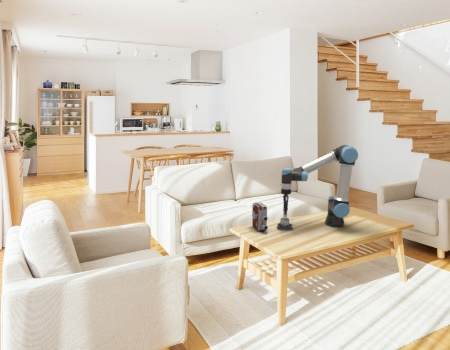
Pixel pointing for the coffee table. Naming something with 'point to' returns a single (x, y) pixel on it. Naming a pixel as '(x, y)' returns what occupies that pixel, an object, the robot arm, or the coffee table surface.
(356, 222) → the coffee table surface
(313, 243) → the coffee table surface
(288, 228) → the lens barrel
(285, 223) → the grey cube
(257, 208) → the cine camera
